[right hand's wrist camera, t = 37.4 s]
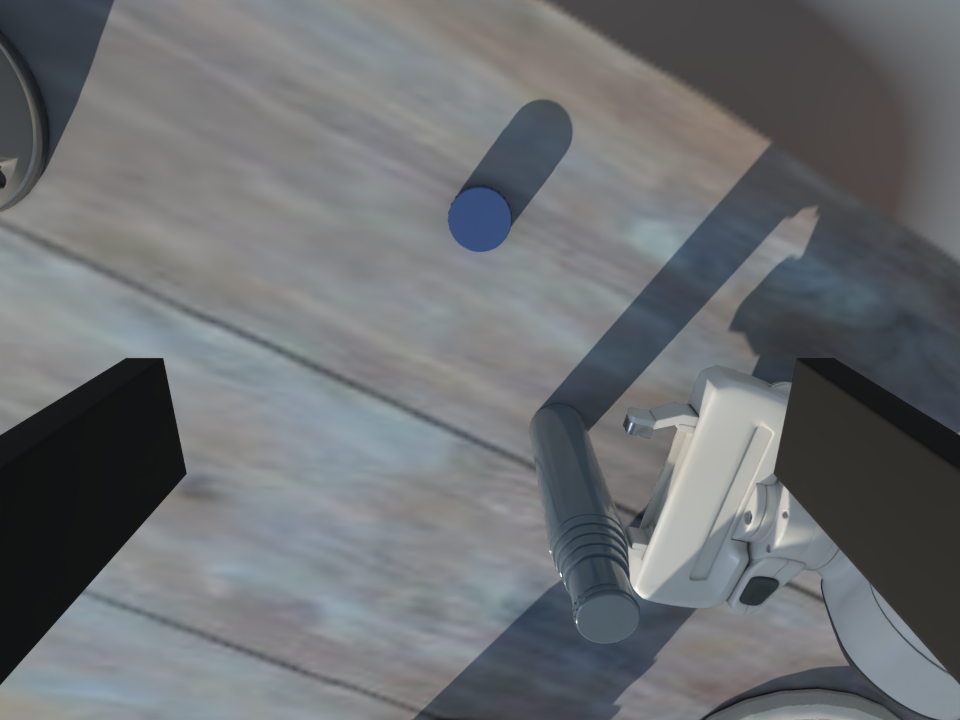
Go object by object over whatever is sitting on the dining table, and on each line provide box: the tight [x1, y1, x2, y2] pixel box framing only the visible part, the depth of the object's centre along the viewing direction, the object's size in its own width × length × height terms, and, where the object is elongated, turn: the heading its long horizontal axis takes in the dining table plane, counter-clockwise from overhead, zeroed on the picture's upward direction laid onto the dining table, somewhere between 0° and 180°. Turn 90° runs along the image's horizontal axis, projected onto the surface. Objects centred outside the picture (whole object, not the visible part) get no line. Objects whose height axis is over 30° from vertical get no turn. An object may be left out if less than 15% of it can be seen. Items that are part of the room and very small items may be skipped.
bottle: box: [529, 404, 640, 644], centre depth 41 cm, size 5×5×22 cm
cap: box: [448, 185, 512, 252], centre depth 44 cm, size 5×5×2 cm
